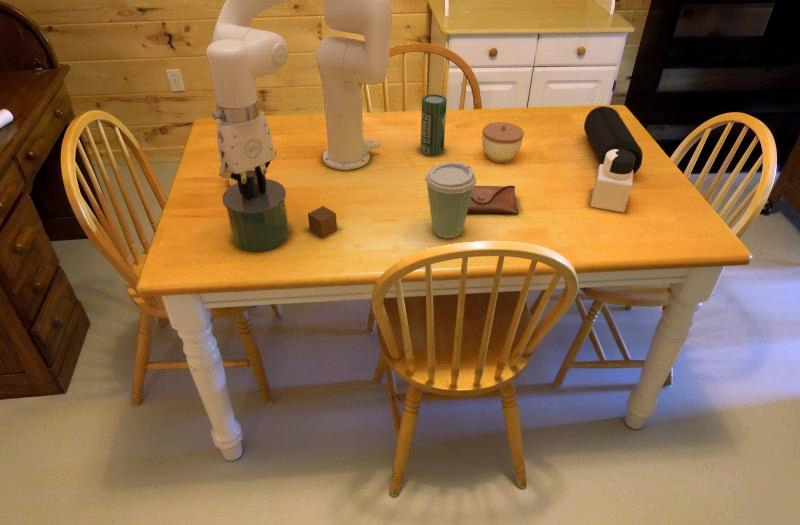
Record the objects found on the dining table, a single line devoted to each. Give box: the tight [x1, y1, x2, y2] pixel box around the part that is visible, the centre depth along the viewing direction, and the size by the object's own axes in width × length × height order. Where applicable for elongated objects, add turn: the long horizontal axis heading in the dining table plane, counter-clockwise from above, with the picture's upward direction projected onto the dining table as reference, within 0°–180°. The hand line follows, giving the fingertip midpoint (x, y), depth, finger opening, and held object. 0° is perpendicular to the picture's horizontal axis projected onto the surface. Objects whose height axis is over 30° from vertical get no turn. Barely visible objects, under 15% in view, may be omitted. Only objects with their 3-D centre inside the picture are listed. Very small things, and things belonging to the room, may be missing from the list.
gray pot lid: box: [221, 170, 287, 214], centre depth 116 cm, size 13×13×6 cm
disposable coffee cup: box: [425, 161, 477, 239], centre depth 121 cm, size 11×11×15 cm
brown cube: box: [307, 205, 338, 239], centre depth 124 cm, size 4×4×4 cm
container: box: [590, 149, 636, 213], centre depth 132 cm, size 8×8×13 cm
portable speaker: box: [583, 105, 644, 175], centre depth 150 cm, size 26×10×10 cm, turn 178°
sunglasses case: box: [467, 185, 520, 215], centre depth 133 cm, size 18×7×7 cm
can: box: [419, 93, 448, 157], centre depth 150 cm, size 6×6×15 cm
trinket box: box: [481, 121, 525, 163], centre depth 150 cm, size 11×11×9 cm
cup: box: [225, 198, 290, 253], centre depth 121 cm, size 12×12×10 cm
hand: (253, 192), depth 117 cm, fingers closed on gray pot lid, 2 cm apart
